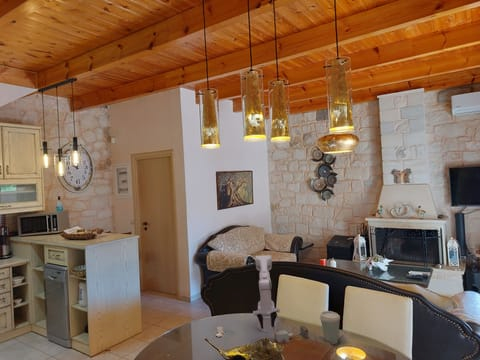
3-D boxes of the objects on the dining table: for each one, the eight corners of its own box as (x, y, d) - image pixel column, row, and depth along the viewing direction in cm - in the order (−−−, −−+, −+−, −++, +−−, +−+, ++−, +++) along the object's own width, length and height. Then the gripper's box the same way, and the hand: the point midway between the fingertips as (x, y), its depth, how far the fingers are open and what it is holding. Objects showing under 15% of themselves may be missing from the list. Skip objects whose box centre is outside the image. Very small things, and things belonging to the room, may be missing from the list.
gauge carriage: (280, 344, 177) (279, 337, 177) (275, 339, 184) (275, 331, 184) (296, 342, 179) (295, 334, 179) (291, 336, 186) (290, 329, 186)
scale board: (279, 348, 176) (278, 336, 176) (271, 339, 187) (271, 328, 188) (311, 343, 180) (310, 331, 180) (301, 334, 192) (301, 323, 192)
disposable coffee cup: (344, 339, 182) (342, 311, 183) (338, 348, 173) (337, 318, 174) (324, 336, 188) (323, 309, 188) (318, 344, 178) (317, 315, 179)
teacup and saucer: (220, 339, 192) (219, 332, 192) (209, 336, 197) (209, 329, 197) (230, 333, 199) (229, 326, 199) (219, 330, 204) (219, 323, 204)
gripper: (255, 305, 176) (256, 332, 175) (281, 302, 179) (282, 328, 179) (251, 301, 182) (252, 327, 182) (276, 298, 186) (278, 323, 186)
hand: (267, 327), depth 181 cm, fingers open, 5 cm apart
